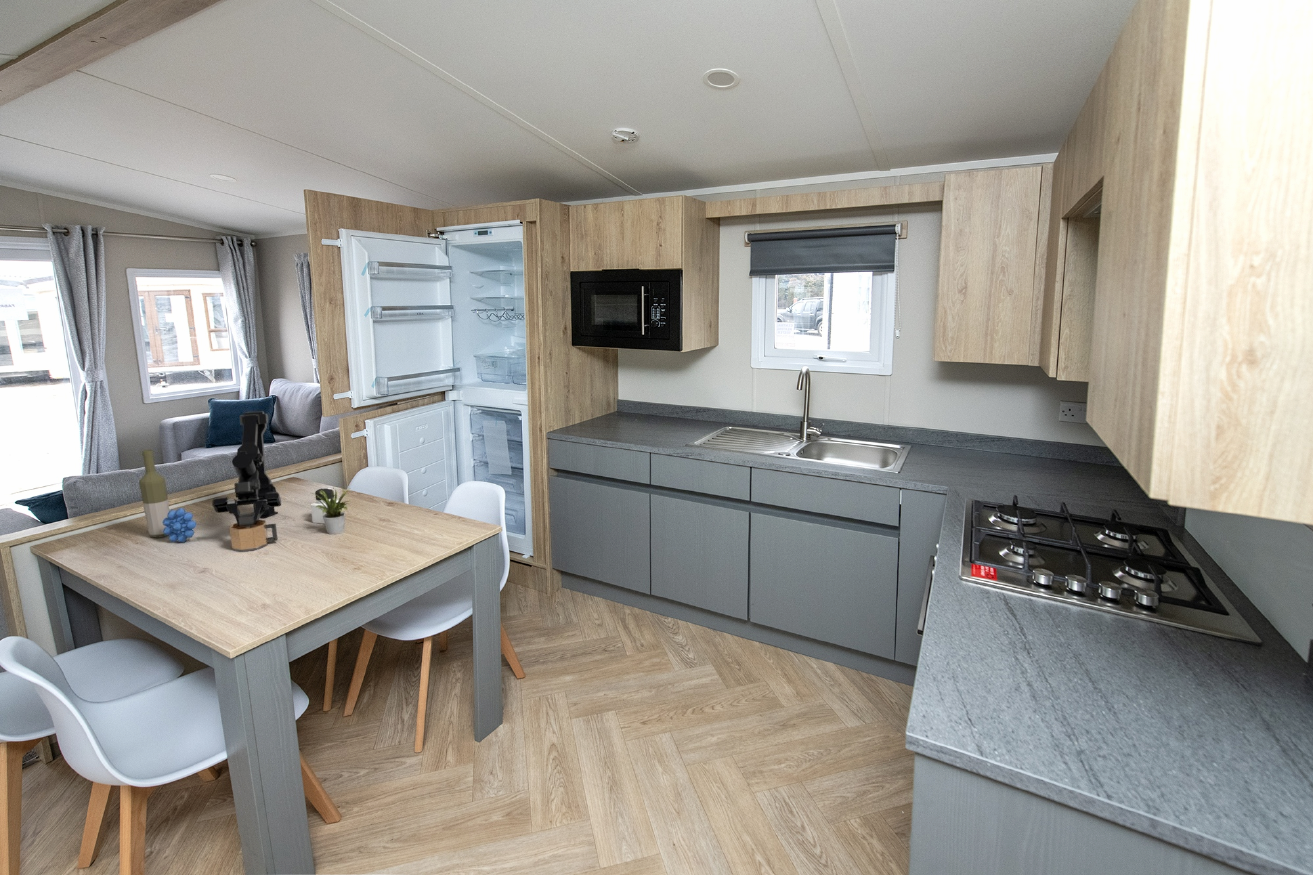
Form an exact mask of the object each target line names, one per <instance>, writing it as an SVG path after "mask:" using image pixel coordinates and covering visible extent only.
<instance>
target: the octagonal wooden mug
mask: <svg viewBox="0 0 1313 875" xmlns="http://www.w3.org/2000/svg"><path fill="white" fill-rule="evenodd" d="M267 529H271V534H272V536H271V537H268V530H267ZM277 531H278V529H277V523H270V524H269V523H268V524H267V521H266V519H261V518H259V520H258V522H257V524H256V525H250V528H247V526H242V527H239V526H238V523H237V522H235V523H232V524H231V525H230V527H229V534H230V541H231V548H232V550H233V551H234V552H238V553H245V552H253V551H257V549H258V550H261V549H263V548H265V547H267V546H268V545H269V543H270V542H277V541H278V540H279V539H278V532H277Z"/></svg>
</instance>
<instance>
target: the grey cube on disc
mask: <svg viewBox="0 0 1313 875" xmlns="http://www.w3.org/2000/svg"><path fill="white" fill-rule="evenodd" d="M254 515H255V513H254V512H249V513H240V516H239V518H238V519H239V526H240V527H242V526H247V528H250V525H254Z"/></svg>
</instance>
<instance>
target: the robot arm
mask: <svg viewBox="0 0 1313 875" xmlns="http://www.w3.org/2000/svg"><path fill="white" fill-rule="evenodd" d="M239 424H240V426H243V428H242V442H241V445H240V446H239V447H238V448H237V451H236V455H234V457H233V458H232V460H231V464H232V466H233V469H234V471H235V473H236V475H237V476H238V480H237V482H236V483H234V494H235V498H237V499H235V498H231V499H229V498H228V496H222V497H214V499H212V503H211V504H212V507H213V509H214V511H215V513H219V514H221V513H227V512H228V513H229V514H232V515H233V516H234V518H235V521H236V523H238V526H239V519H238V518H239V516H240V514H241V511H240V509H239V507H241V506H250V505H252V506H253V513H255V515H254V525H256V524H257V522H258V520H259V519H266V518H268V517H271V516H274V515H277V514H279V512H278V511H276V509H275V508H276V507H281V506H282V499H281V495H280V492H278V491H277V488H276V487H275V485H274V483H272V479H271V478H270V477H269V475H268V474H267V472H266V470H267V468H266V461H265V460H266V459H265V447H264V446H265V445H264V444H265V443H264V434H265V432H266V430H267V429H268V427H267V426H268V424H269V416H268V413H265V412H264V411H263V410H261V411H260V410H259V411H244V412H243V414H241V415H239ZM239 527H240V526H239Z"/></svg>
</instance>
